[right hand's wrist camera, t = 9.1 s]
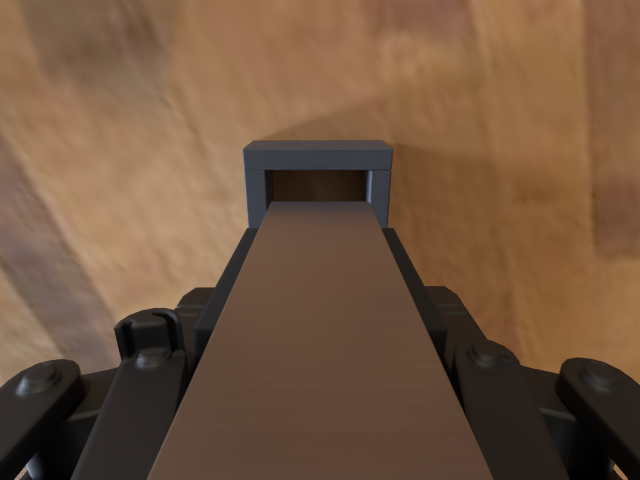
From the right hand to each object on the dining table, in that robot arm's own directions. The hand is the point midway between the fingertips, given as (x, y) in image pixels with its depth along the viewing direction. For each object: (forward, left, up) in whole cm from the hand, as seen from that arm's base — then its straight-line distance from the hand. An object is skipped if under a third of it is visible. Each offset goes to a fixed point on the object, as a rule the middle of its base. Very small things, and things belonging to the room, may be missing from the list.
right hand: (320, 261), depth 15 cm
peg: (0, 0, -2) cm, 2 cm away
